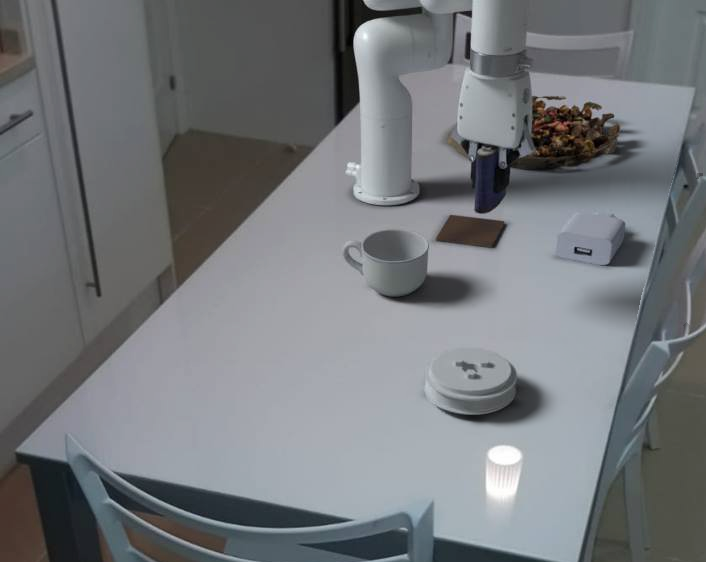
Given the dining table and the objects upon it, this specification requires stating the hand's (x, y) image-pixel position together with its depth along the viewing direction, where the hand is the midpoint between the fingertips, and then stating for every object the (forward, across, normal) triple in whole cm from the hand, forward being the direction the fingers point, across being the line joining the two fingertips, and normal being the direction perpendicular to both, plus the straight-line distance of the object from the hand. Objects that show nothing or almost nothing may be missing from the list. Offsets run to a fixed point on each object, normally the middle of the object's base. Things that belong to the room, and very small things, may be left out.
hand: (489, 186), depth 162 cm
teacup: (+19, +16, +4) cm, 25 cm away
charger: (+19, -7, -28) cm, 35 cm away
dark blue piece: (+3, 0, -1) cm, 3 cm away
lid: (+19, -11, +25) cm, 33 cm away
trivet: (+19, +13, -21) cm, 31 cm away
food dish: (+19, +23, -66) cm, 73 cm away
